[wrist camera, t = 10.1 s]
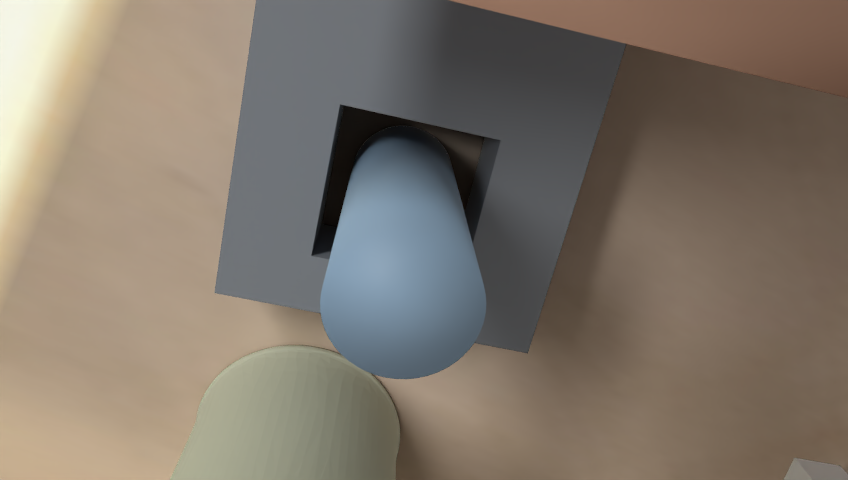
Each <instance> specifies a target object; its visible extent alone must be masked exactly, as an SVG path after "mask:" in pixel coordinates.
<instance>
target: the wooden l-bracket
mask: <svg viewBox="0 0 848 480" xmlns="http://www.w3.org/2000/svg"><path fill="white" fill-rule="evenodd" d="M449 1H453V2H457V3H462V4H466V5H470V6H474V7H478V8H482V9H486V10H490V11H494V12H498V13H502V14H507V15H511V16H515V17H519V18H523V19H527V20H531V21H535V22H539V23H543V24H547V25H552V26H556V27H560V28H564V29H568V30H572V31H576V32H580V33H584V34H588V35H592V36H596V37H601V38H605V39H609V40H613V41H617V42H621V43H625V44H629V45H633V46H637V47H641V48H646V49H650V50H654V51H658V52H662V53H666V54H670V55H674V56H678V57H682V58H686V59H691V60H695V61H699V62H703V63H707V64H711V65H715V66H719V67H723V68H727V69H731V70H735V71H740V72H744V73H748V74H752V75H756V76H760V77H764V78H768V79H772V80H776V81H780V82H785V83H789V84H793V85H797V86H801V87H805V88H809V89H813V90H817V91H821V92H825V93H830V94H834V95H838V96H842V97H846V98H848V0H449Z"/></svg>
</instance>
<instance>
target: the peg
mask: <svg viewBox="0 0 848 480" xmlns="http://www.w3.org/2000/svg"><path fill="white" fill-rule="evenodd" d="M320 312H321V318H322V322H323V325H324V328H325V331H326V333H327V335H328V337H329V339H330V341H331V342H332V344H333V345H334V347H335V348H336V349H337V350H338V351H339V352H340V353H341V355H343V356H344V357H345V358H346V359H347V360H348V361H349V362H351V363H352V364H354V365H355V366H357V367H359V368H361V369H362V370H364V371H366V372H369V373H372V374H374V375H378V376H382V377H386V378H393V379H412V378H420V377H424V376H428V375H431V374H434V373H437V372H439V371H441V370H443V369H445V368H447V367H449V366H450V365H452V364H453V363H455V362H456V361H458V360H459V359H460V358H461V357H462V356H463V355H464V354H465V353H466V352H467V351H468V350H469V349H470V348H471V346H472V345H473V344H474V342H475V341H476V339H477V337H478V335H479V333H480V331H481V329H482V326H483V323H484V319H485V314H486V293H485V289H484V284H483V280H482V277H481V273H480V269H479V265H478V262H477V258H476V254H475V250H474V247H473V243H472V239H471V235H470V232H469V228H468V224H467V220H466V217H465V213H464V209H463V205H462V202H461V198H460V194H459V190H458V187H457V183H456V179H455V175H454V172H453V168H452V164H451V160H450V158H449V155H448V153H447V151H446V149H445V148H444V147H443V145H442V144H441V143H440V142H439V141H438V140H437V139H436V138H435V137H434V136H433V135H431V134H430V133H428V132H426V131H424V130H422V129H419V128H416V127H412V126H393V127H389V128H385V129H383V130H380V131H379V132H377V133H375V134H374V135H372V136H371V137H369V138H368V139H367V140H366V141H365V142H364V144H363V145H362V146H361V148H360V149H359V151H358V153H357V155H356V157H355V160H354V164H353V168H352V172H351V176H350V180H349V184H348V188H347V191H346V195H345V199H344V203H343V207H342V211H341V215H340V219H339V223H338V227H337V231H336V235H335V239H334V243H333V247H332V251H331V255H330V259H329V263H328V267H327V271H326V274H325V278H324V282H323V286H322V290H321V298H320Z"/></svg>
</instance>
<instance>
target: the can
mask: <svg viewBox="0 0 848 480" xmlns="http://www.w3.org/2000/svg"><path fill="white" fill-rule="evenodd" d="M399 444H400V425H399V419H398V415H397V412H396V409H395V406H394V404H393V402H392V400H391V398H390V396H389V394H388V393H387V391H386V390H385V388H384V387H383V386H382V384H381V383H380V382H379V381H378V380H377V379H376V378H375V377H374V376H373V375H372V374H371V373H369V372H366V371H364V370H362V369H361V368H359V367H357V366H355V365H354V364H352V363H351V362H349V361H348V360H347V359H346V358H345V357H344V356H343V355H341V354H338V353H335V352H333V351H330V350H327V349H322V348H317V347H313V346H304V345H286V346H277V347H271V348H266V349H263V350H260V351H256V352H254V353H251V354H249V355H247V356H244V357H243V358H241V359H239V360H237V361H235V362H234V363H233V364H231V365H230V366H228V367H227V368H226V369H225V370H223V371H222V372H221V373H220V374H219V375H218V376H217V377H216V378H215V379H214V381H213V382H212V383H211V385H210V386H209V388H208V389H207V391H206V392H205V394H204V396H203V398H202V400H201V403H200V406H199V409H198V413H197V418H196V422H195V425H194V427H193V430H192V432H191V434H190V436H189V439H188V441H187V443H186V445H185V448H184V450H183V452H182V455H181V457H180V459H179V461H178V463H177V465H176V468H175V470H174V472H173V474H172V476H171V478H170V480H396V458H397V454H398V450H399Z"/></svg>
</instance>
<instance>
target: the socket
mask: <svg viewBox="0 0 848 480" xmlns="http://www.w3.org/2000/svg"><path fill="white" fill-rule="evenodd" d="M625 47H626V44H625V43H621V42H617V41H613V40H609V39H605V38H601V37H596V36H592V35H588V34H584V33H580V32H576V31H572V30H568V29H564V28H560V27H556V26H552V25H547V24H543V23H539V22H535V21H531V20H527V19H523V18H519V17H515V16H511V15H507V14H502V13H498V12H494V11H490V10H486V9H482V8H478V7H474V6H470V5H466V4H462V3H457V2H453V1H449V0H256V5H255V12H254V19H253V26H252V33H251V40H250V47H249V55H248V62H247V69H246V76H245V83H244V90H243V97H242V104H241V111H240V118H239V125H238V132H237V139H236V146H235V153H234V160H233V167H232V174H231V181H230V188H229V195H228V202H227V209H226V216H225V223H224V230H223V237H222V244H221V251H220V258H219V265H218V272H217V279H216V286H215V293H218V294H223V295H228V296H233V297H239V298H244V299H249V300H254V301H259V302H265V303H270V304H275V305H280V306H285V307H290V308H296V309H301V310H306V311H311V312H316V313H321V312H320V298H321V290H322V286H323V282H324V278H325V274H326V271H327V267H328V263H329V259H330V255H331V251H332V247H333V243H334V239H335V235H336V231H337V227H333V226H329V225H324V224H322V219H323V214H324V208H325V203H326V198H327V193H328V188H329V182H330V177H331V172H332V167H333V161H334V156H335V151H336V146H337V141H338V135H339V130H340V125H341V120H342V115H343V109H344V105H346V106H350V107H354V108H359V109H363V110H368V111H372V112H377V113H381V114H386V115H390V116H395V117H399V118H403V119H408V120H412V121H417V122H421V123H426V124H430V125H435V126H439V127H443V128H448V129H452V130H457V131H461V132H466V133H470V134H475V135H479V136H484V137H485V138H484V142H483V146H482V149H481V153H480V157H479V161H478V165H477V168H476V172H475V176H474V180H473V183H472V187H471V191H470V195H469V199H468V202H467V206H466V210H465V217H466V220H467V224H468V228H469V232H470V235H471V239H472V243H473V247H474V250H475V254H476V258H477V262H478V265H479V269H480V273H481V277H482V280H483V284H484V289H485V293H486V314H485V319H484V323H483V326H482V329H481V331H480V333H479V335H478V337H477V339H476V341H475V342H474V343H478V344H483V345H488V346H493V347H498V348H503V349H509V350H514V351H519V352H524V353H528V351H529V348H530V344H531V341H532V338H533V335H534V332H535V329H536V326H537V322H538V319H539V316H540V313H541V310H542V307H543V304H544V301H545V297H546V294H547V291H548V288H549V285H550V282H551V279H552V275H553V272H554V269H555V266H556V263H557V260H558V257H559V254H560V250H561V247H562V244H563V241H564V238H565V235H566V232H567V228H568V225H569V222H570V219H571V216H572V213H573V210H574V206H575V203H576V200H577V197H578V194H579V191H580V188H581V185H582V181H583V178H584V175H585V172H586V169H587V166H588V163H589V159H590V156H591V153H592V150H593V147H594V144H595V141H596V138H597V134H598V131H599V128H600V125H601V122H602V119H603V116H604V112H605V109H606V106H607V103H608V100H609V97H610V94H611V90H612V87H613V84H614V81H615V78H616V75H617V72H618V69H619V65H620V62H621V59H622V56H623V53H624V50H625Z"/></svg>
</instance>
